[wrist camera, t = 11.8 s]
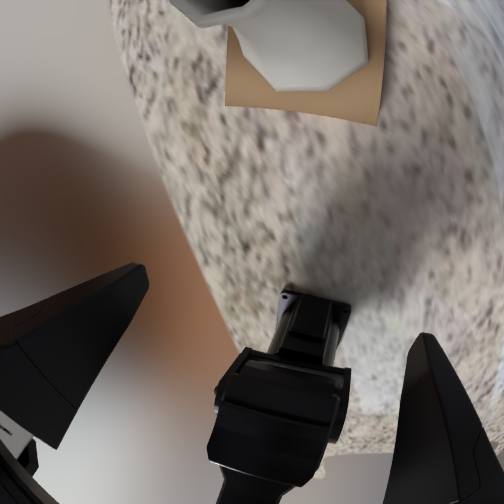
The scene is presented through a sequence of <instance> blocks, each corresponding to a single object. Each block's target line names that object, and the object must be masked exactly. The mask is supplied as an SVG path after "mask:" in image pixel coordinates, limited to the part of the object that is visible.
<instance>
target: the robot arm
mask: <svg viewBox="0 0 504 504" xmlns="http://www.w3.org/2000/svg"><path fill="white" fill-rule="evenodd" d="M148 289H149V279H148V276H147V272H146V268H145V266H144V265H143V264H140V263H137V262H132V263H129V264H127V265H124V266H122V267H119V268H117V269H115V270H112V271H110V272H107V273H105V274H102V275H100V276H98V277H95V278H93V279H90V280H88V281H86V282H84V283H81V284H79V285H76V286H74V287H72V288H69V289H67V290H65V291H62V292H60V293H58V294H56V295H53V296H51V297H49V298H46V299H44V300H42V301H40V302H38V303H35V304H33V305H30V306H28V307H25V308H23V309H20V310H17V311H15V312H12V313H9V314H7V315H4V316H1V317H0V504H59V503H58V502H57V501H56V500H55V499H54V498H53V497H51V496H50V495H49V494H48V493H47V492H46V491H45V490H44V489H43V488H42V487H41V486H40V485H39V484H38V483H37V482H36V481H35V480H34V479H33V478H32V476H33V475H34V473H35V472H36V470H37V469H38V467H39V465H38V459H37V450H36V441H35V440H34V439H33V436H35V437H36V438H38V439H39V440H41V441H42V442H44V443H45V444H47V445H49V446H50V447H52V448H53V449H55V450H57V448H58V447H59V445H60V443H61V441H62V439H63V437H64V435H65V433H66V431H67V429H68V428H69V426H70V424H71V422H72V420H73V418H74V416H75V415H76V413H77V411H78V409H79V407H80V405H81V404H82V402H83V400H84V398H85V397H86V395H87V393H88V391H89V390H90V388H91V386H92V384H93V383H94V381H95V379H96V378H97V376H98V374H99V372H100V371H101V369H102V368H103V366H104V364H105V363H106V361H107V359H108V358H109V356H110V355H111V353H112V351H113V350H114V348H115V346H116V345H117V343H118V342H119V340H120V339H121V337H122V335H123V334H124V332H125V331H126V329H127V328H128V326H129V324H130V322H131V321H132V319H133V317H134V315H135V313H136V311H137V310H138V308H139V305H140V304H141V302H142V300H143V298H144V296H145V294H146V293H147V291H148ZM284 295H286V296H284ZM344 309H347V310H344ZM350 313H351V306H350V305H349V304H346V303H341V302H337V301H332V300H328V299H323V298H319V297H314V296H310V295H305V294H301V293H297V292H292V291H288V290H283V291H281V294H280V297H279V306H278V314H277V323H276V331H275V334H274V337H273V339H272V342H271V344H270V347H269V349H268V351H267V353H264V352H260V351H256V350H252V348H248V347H245V348H244V350H243V351H242V353H240V354H239V356H238V357H237V358H236V360H235V361H234V362H233V364H232V365H231V366H230V368H229V369H228V370H227V372H226V373H225V375H224V376H223V377H222V378H221V380H220V381H219V384H218V385H217V386H216V387H215V389H214V393H215V395H216V398H215V403H214V411H215V413H216V414H217V418H216V422H215V425H214V428H213V431H212V434H211V436H210V439H209V442H208V444H207V453H208V459H209V461H211V462H213V463H215V464H218V465H219V466H220V469H221V472H222V474H223V477H224V482H223V485H222V488H221V491H220V494H219V497H218V499H217V502H216V504H279V502H280V500H281V498H282V496H283V495H284V494H286V493H287V492H289V491H290V490H292V489H293V488H294V487H302V486H304V485H305V484H306V483H307V482H308V481H309V480H310V479H311V478H312V477H313V476H314V474H315V472H316V471H317V470H318V468H319V466H320V463H321V460H322V458H323V455H324V452H325V449H326V446H327V443H333V444H335V443H336V442H337V441H338V439H339V436H340V434H341V431H342V428H343V425H344V422H345V418H346V414H347V409H348V402H349V392H350V381H351V368H339V367H333V364H334V359H335V354H336V349H337V347H338V345H339V342H340V340H341V337H342V335H343V332H344V329H345V327H346V324H347V321H348V319H349V316H350ZM383 504H504V471H503V469H502V467H501V465H500V463H499V460H498V458H497V456H496V454H495V452H494V450H493V448H492V445H491V443H490V441H489V439H488V437H487V434H486V432H485V430H484V427H482V423H481V421H480V419H479V417H478V414H477V412H476V410H475V408H474V406H473V404H472V402H471V400H470V398H469V396H468V394H467V392H466V390H465V388H464V386H463V385H462V383H461V381H460V379H459V377H458V375H457V374H456V372H455V370H454V368H453V366H452V365H451V363H450V361H449V359H448V358H447V356H446V354H445V353H444V351H443V349H442V348H441V346H440V344H439V343H438V341H437V339H436V338H435V336H434V335H433V334H430V333H424V332H422V333H420V334H419V335H418V337H417V338H416V340H415V342H414V343H413V345H412V346H411V348H410V350H409V352H408V356H407V363H406V370H405V376H404V382H403V388H402V394H401V400H400V408H399V418H398V427H397V434H396V441H395V448H394V454H393V460H392V466H391V470H390V476H389V480H388V485H387V489H386V493H385V497H384V501H383Z"/></svg>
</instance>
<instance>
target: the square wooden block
mask: <svg viewBox="0 0 504 504" xmlns="http://www.w3.org/2000/svg"><path fill="white" fill-rule="evenodd" d="M347 1H348V2H349V3H350V4H351V5H352V6H353V7H354V8H355V9H356V10H357V11H358V12H359V13H360V14H361V15H362V16H363V17H364V19H365V28H366V38H367V50H368V64H369V65H367V66H365V67H364V68H362V69H361V70H359V71H358V72H356V73H355V74H353V75H351V76H350V77H348V78H347V79H345V80H344V81H342V82H341V83H339V84H338V85H336V86H335V87H333V88H332V89H331V90H329V91H328V92H326V91H279V92H276V91H275V89H274V88H273V87H272V86H271V85H270V84H269V83H268V82H267V80H266V79H265V78H264V77H263V76H262V75H261V74H260V73H259V72H258V71H257V70H256V69H255V68H254V67H253V65H252V64H251V63H250V62H249V61H248V60H247V59H246V58H245V57H244V55H243V52H242V49H241V46H240V42H239V40H238V38H237V36H236V34H235V31H234V29H233V27H231V26H228V40H227V64H226V95H225V106H239V107H255V108H267V109H277V110H286V111H295V112H302V113H310V114H316V115H322V116H328V117H334V118H340V119H345V120H350V121H355V122H360V123H364V124H369V125H373V126H377V120H378V113H379V106H380V98H381V89H382V80H383V69H384V56H385V40H386V0H347Z"/></svg>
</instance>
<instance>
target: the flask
mask: <svg viewBox="0 0 504 504" xmlns="http://www.w3.org/2000/svg"><path fill="white" fill-rule="evenodd" d="M170 3H171V4H172V5H173V6H174V7H176V8H177V9H178V10H179V11H180V12H182V13H183V14H184V15H185V16H186V17H187V18H189V19H190V20H191V21H192V22H193V23H194V24H195V25H197V26H198V27H201V28H206V27H211V26H216V25H220V24H226V25H228V26H231V27H233V29H234V31H235V34H236V36H237V38H238V40H239V42H240V46H241V49H242V52H243V55H244V57H245V58H246V59H247V60H248V61H249V62H250V63H251V64H252V65H253V67H254V68H255V69H256V70H257V71H258V72H259V73H260V74H261V75H262V76H263V77H264V78H265V79H266V80H267V82H268V83H269V84H270V85H271V86H272V87H273V88H274V89H275V91H276V92H279V91H326V92H328V91H329V90H331V89H332V88H333V87H335V86H336V85H338V84H339V83H341V82H342V81H344V80H345V79H347V78H348V77H350V76H351V75H353V74H355V73H356V72H358V71H359V70H361V69H362V68H364V67H365V66H367V65H369V64H368V50H367V38H366V28H365V19H364V17H363V16H362V15H361V14H360V13H359V12H358V11H357V10H356V9H355V8H354V7H353V6H352V5H351V4H350V3H349V2H348V1H347V0H170Z"/></svg>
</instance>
